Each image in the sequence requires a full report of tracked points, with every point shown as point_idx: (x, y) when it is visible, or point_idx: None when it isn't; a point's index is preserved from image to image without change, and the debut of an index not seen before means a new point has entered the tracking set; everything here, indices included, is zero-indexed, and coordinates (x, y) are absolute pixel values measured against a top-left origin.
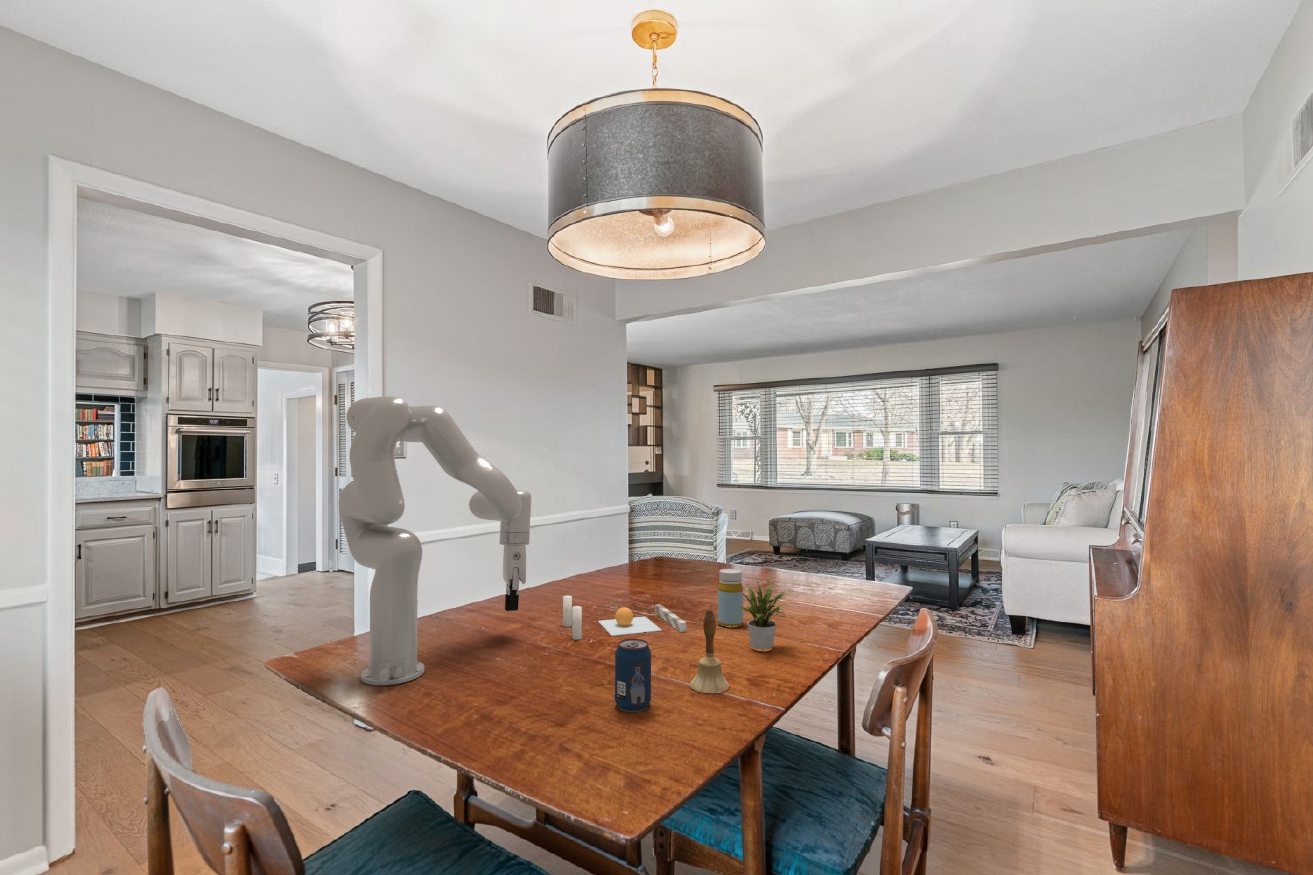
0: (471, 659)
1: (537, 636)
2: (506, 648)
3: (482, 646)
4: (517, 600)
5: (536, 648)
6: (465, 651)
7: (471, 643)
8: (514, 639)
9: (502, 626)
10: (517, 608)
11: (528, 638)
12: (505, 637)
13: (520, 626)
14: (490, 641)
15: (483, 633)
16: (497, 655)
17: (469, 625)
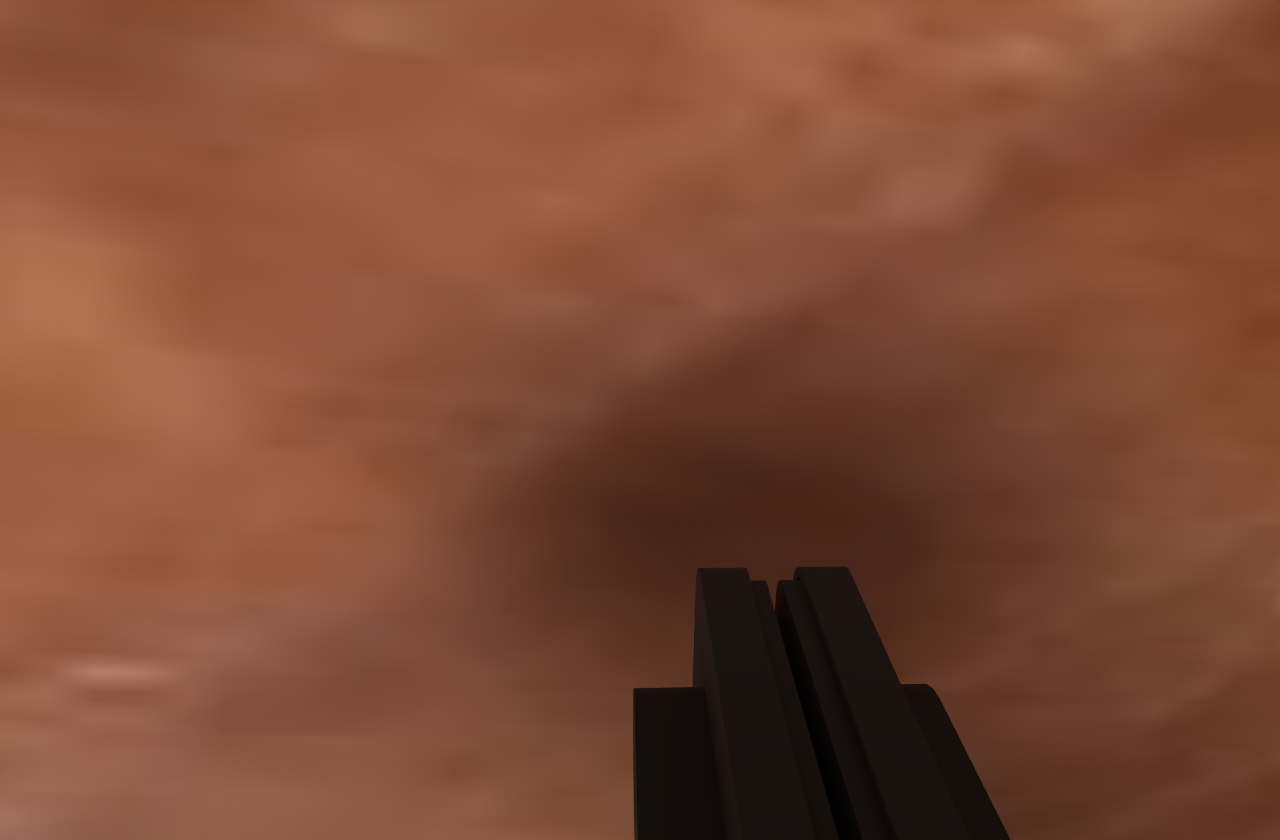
0: (1186, 787)
1: (728, 28)
2: (1049, 493)
3: None
4: (906, 742)
5: (1265, 141)
6: None
7: None
8: (743, 374)
9: (81, 466)
10: (850, 593)
11: (774, 185)
12: (615, 470)
13: (105, 220)
14: None
15: (373, 680)
16: (1222, 591)
17: (4, 797)
